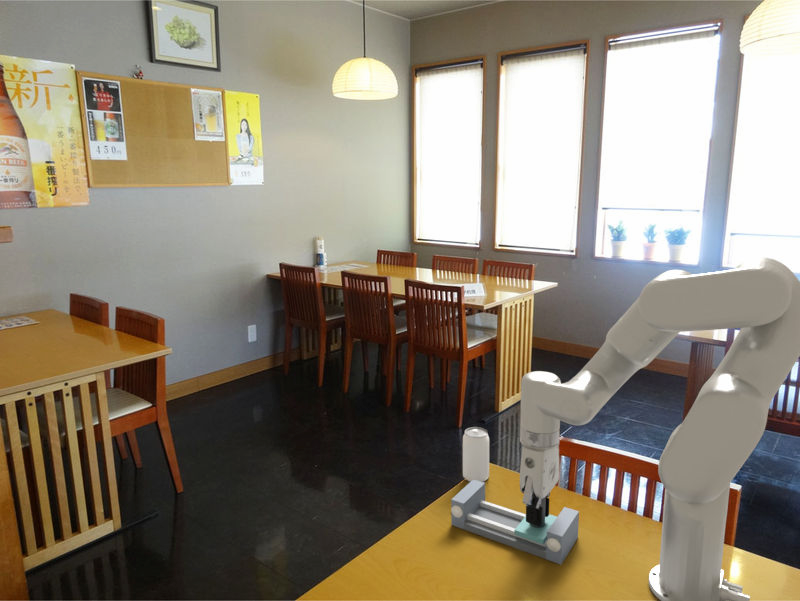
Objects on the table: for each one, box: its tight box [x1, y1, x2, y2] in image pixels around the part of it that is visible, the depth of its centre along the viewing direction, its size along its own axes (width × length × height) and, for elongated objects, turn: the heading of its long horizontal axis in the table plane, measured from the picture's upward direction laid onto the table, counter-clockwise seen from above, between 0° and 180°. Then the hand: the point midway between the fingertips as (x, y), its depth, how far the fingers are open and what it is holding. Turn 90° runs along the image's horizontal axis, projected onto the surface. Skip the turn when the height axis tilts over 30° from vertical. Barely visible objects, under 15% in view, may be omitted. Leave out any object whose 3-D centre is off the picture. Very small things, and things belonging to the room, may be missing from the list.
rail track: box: [450, 479, 580, 566], centre depth 118 cm, size 24×10×6 cm, turn 55°
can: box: [462, 426, 490, 483], centre depth 140 cm, size 6×6×12 cm
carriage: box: [514, 490, 558, 544], centre depth 114 cm, size 6×9×8 cm, turn 145°
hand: (537, 518), depth 115 cm, fingers closed on carriage, 3 cm apart
